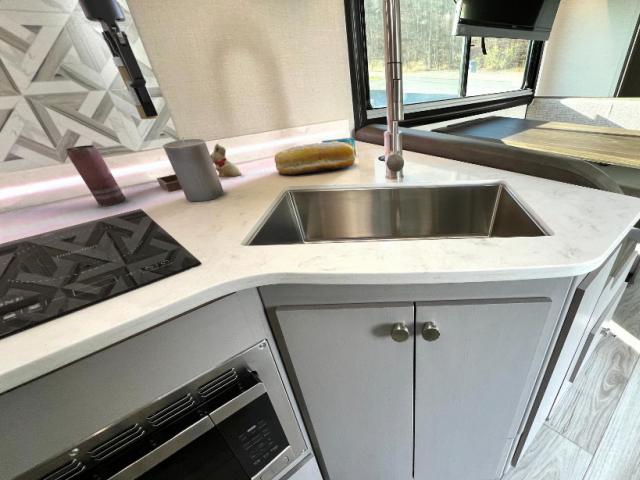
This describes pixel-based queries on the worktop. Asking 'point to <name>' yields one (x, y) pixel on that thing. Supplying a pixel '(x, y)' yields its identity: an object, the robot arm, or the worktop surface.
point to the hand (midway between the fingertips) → (149, 115)
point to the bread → (315, 158)
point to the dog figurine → (223, 163)
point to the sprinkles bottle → (131, 88)
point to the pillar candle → (194, 169)
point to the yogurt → (344, 140)
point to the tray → (169, 183)
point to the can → (96, 174)
